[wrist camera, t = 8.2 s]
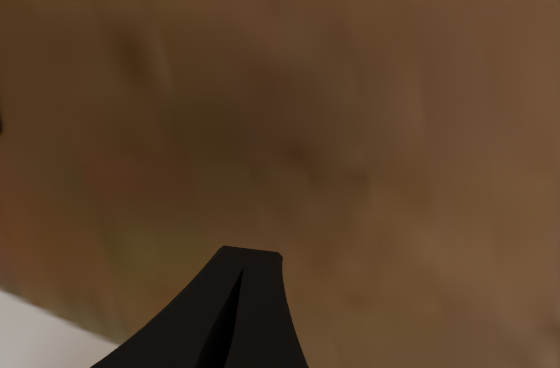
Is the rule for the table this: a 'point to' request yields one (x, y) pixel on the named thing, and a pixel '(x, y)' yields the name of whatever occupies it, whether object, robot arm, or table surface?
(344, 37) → the table surface
